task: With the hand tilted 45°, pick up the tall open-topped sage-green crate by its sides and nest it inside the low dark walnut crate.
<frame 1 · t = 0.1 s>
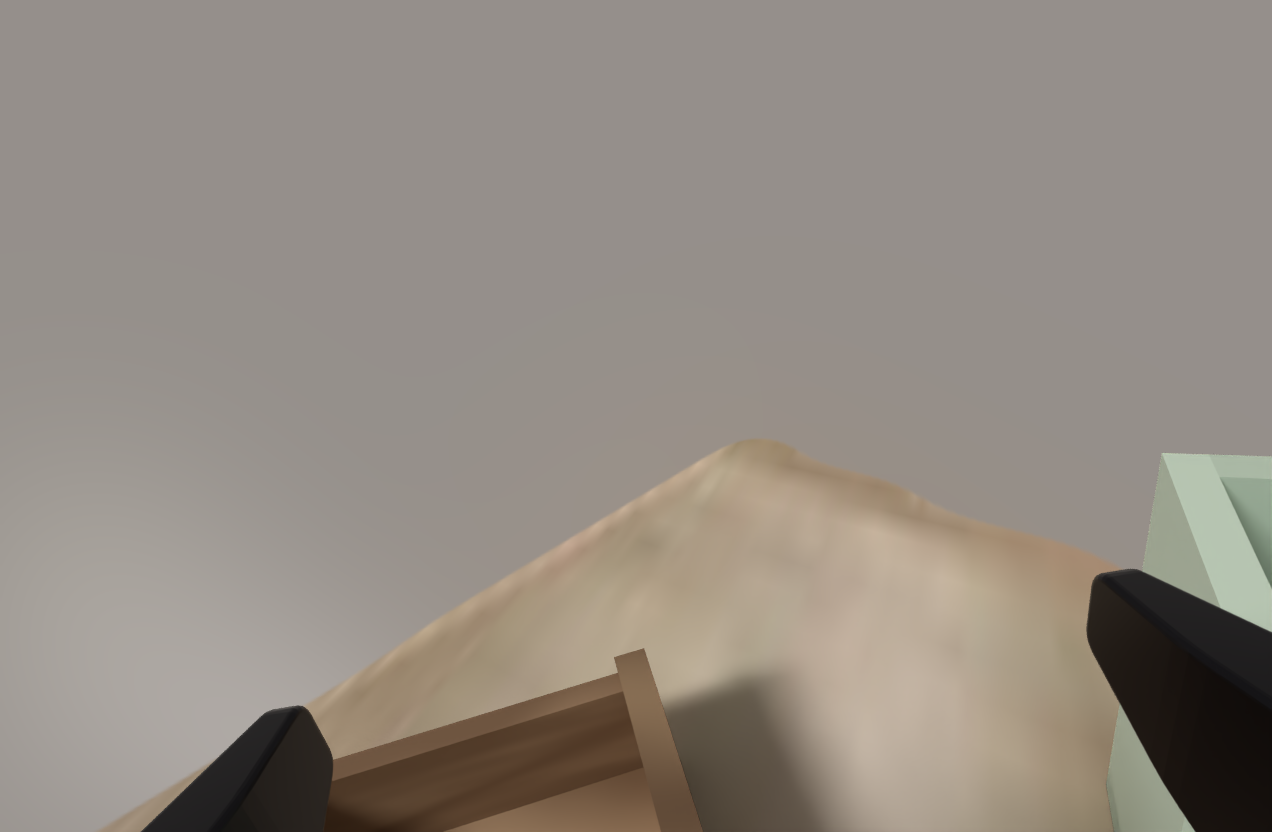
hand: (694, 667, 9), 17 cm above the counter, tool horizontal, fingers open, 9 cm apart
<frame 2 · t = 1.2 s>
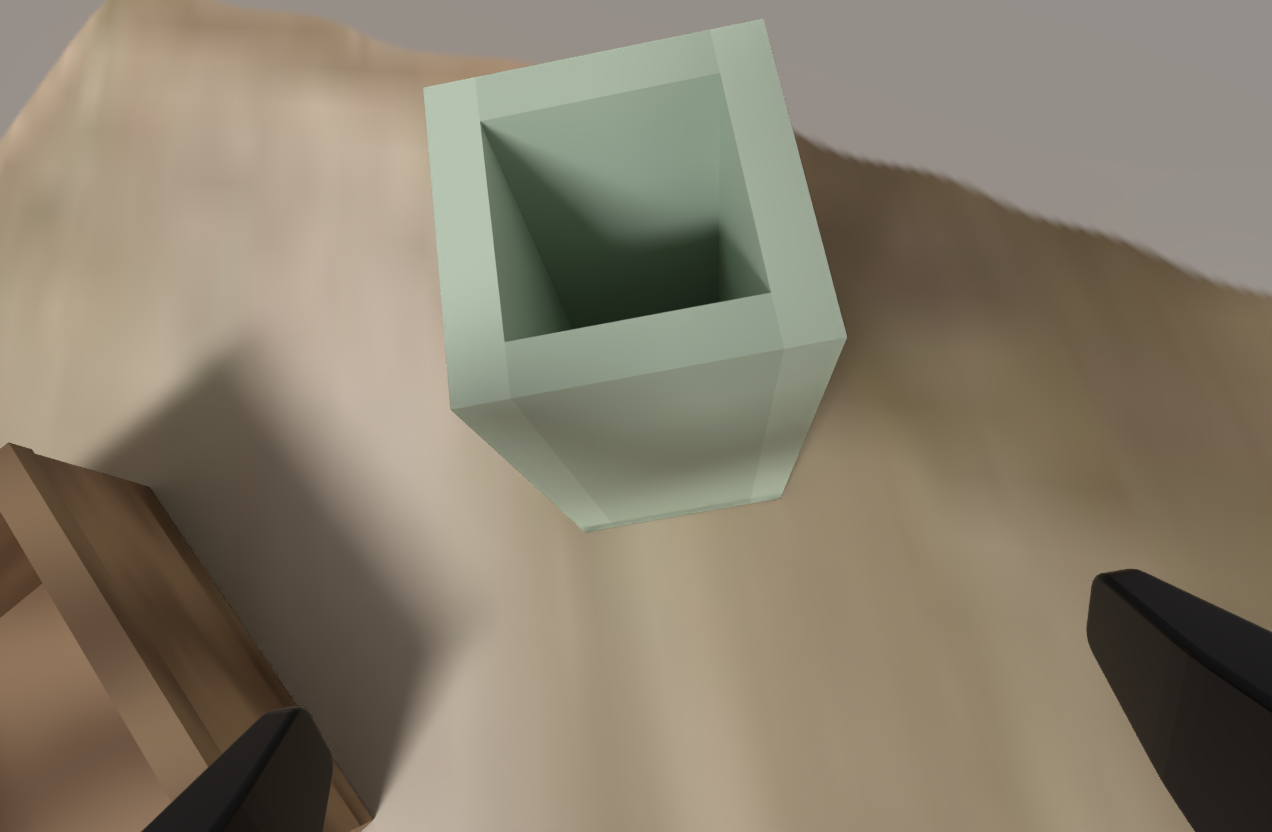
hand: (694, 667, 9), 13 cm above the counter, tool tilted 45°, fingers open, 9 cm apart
walnut crate: (74, 794, 22), on the counter
sage crate: (665, 422, 23), on the counter
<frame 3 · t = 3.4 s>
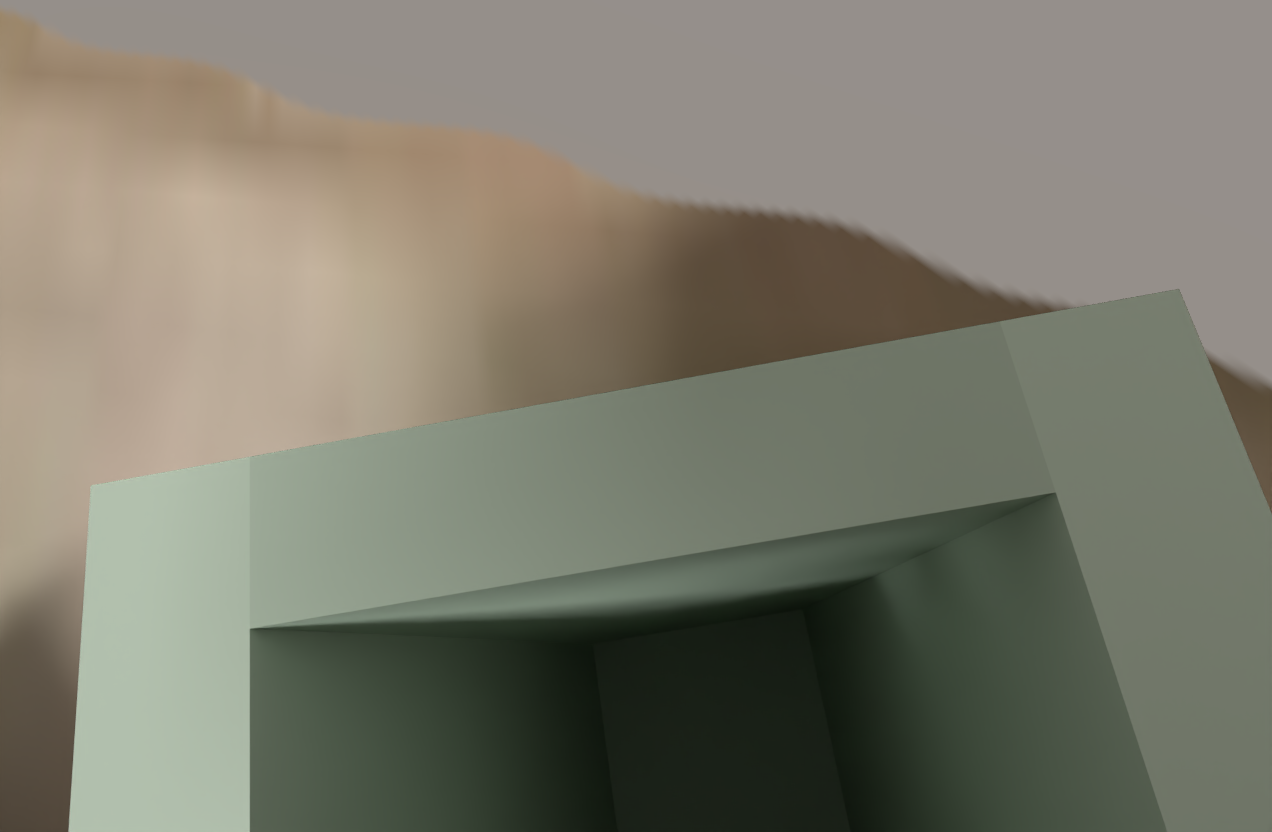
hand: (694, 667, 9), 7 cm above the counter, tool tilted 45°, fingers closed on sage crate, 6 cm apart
sage crate: (716, 735, 15), on the counter, touching gripper
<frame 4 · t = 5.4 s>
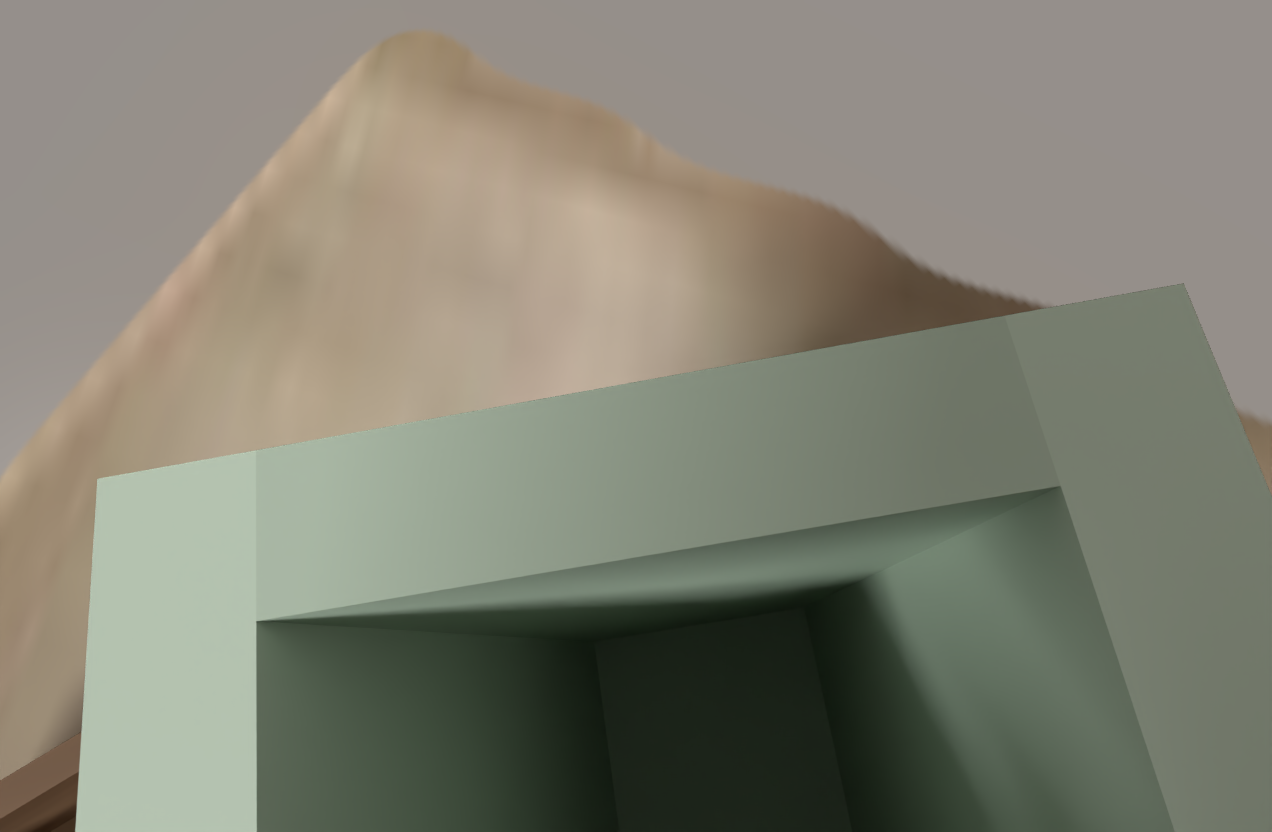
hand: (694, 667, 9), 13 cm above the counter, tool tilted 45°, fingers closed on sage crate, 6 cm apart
sage crate: (718, 733, 15), point 7 cm above the counter, touching gripper
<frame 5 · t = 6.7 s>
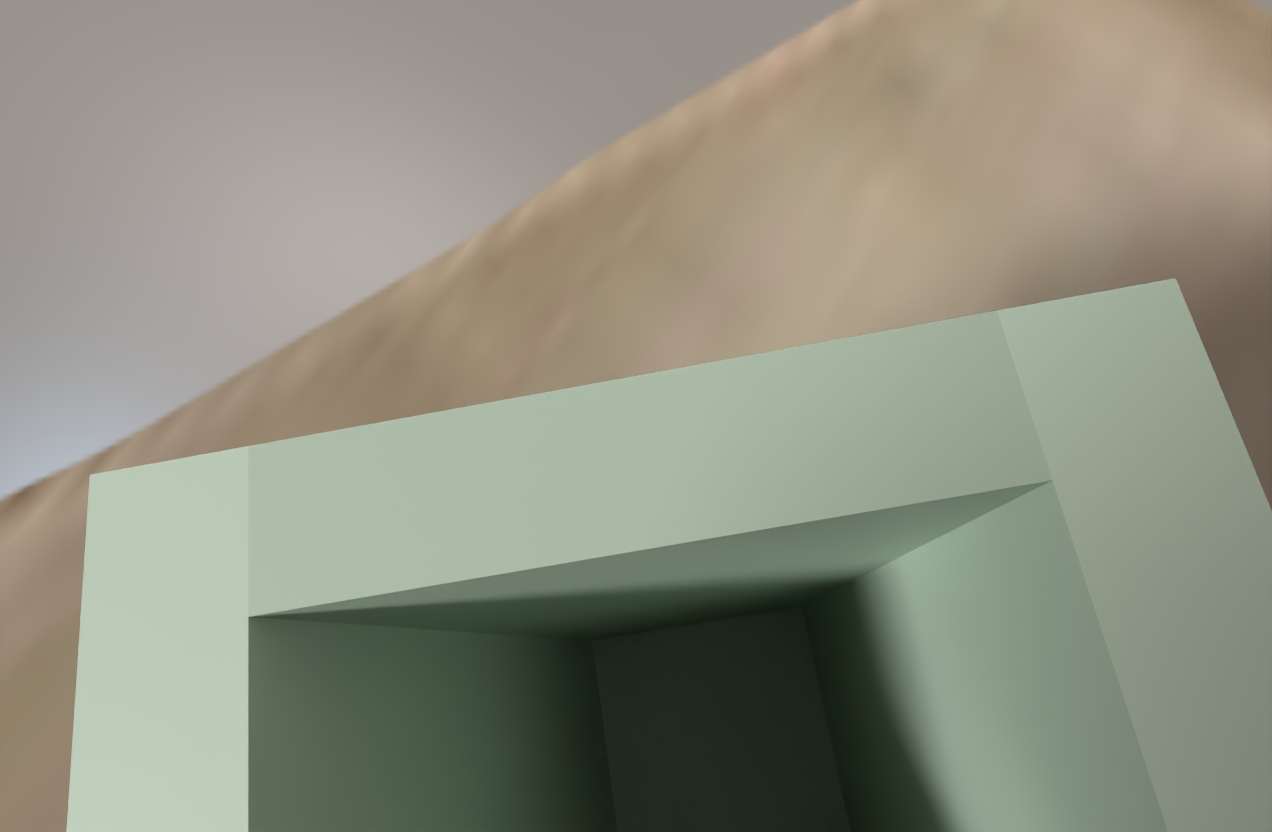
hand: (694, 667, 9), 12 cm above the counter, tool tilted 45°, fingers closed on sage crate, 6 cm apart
sage crate: (716, 732, 15), point 6 cm above the counter, touching gripper
when the fingers open (9 cm above the counter, at t = 7.7 s): sage crate drops 1 cm, resting on walnut crate.
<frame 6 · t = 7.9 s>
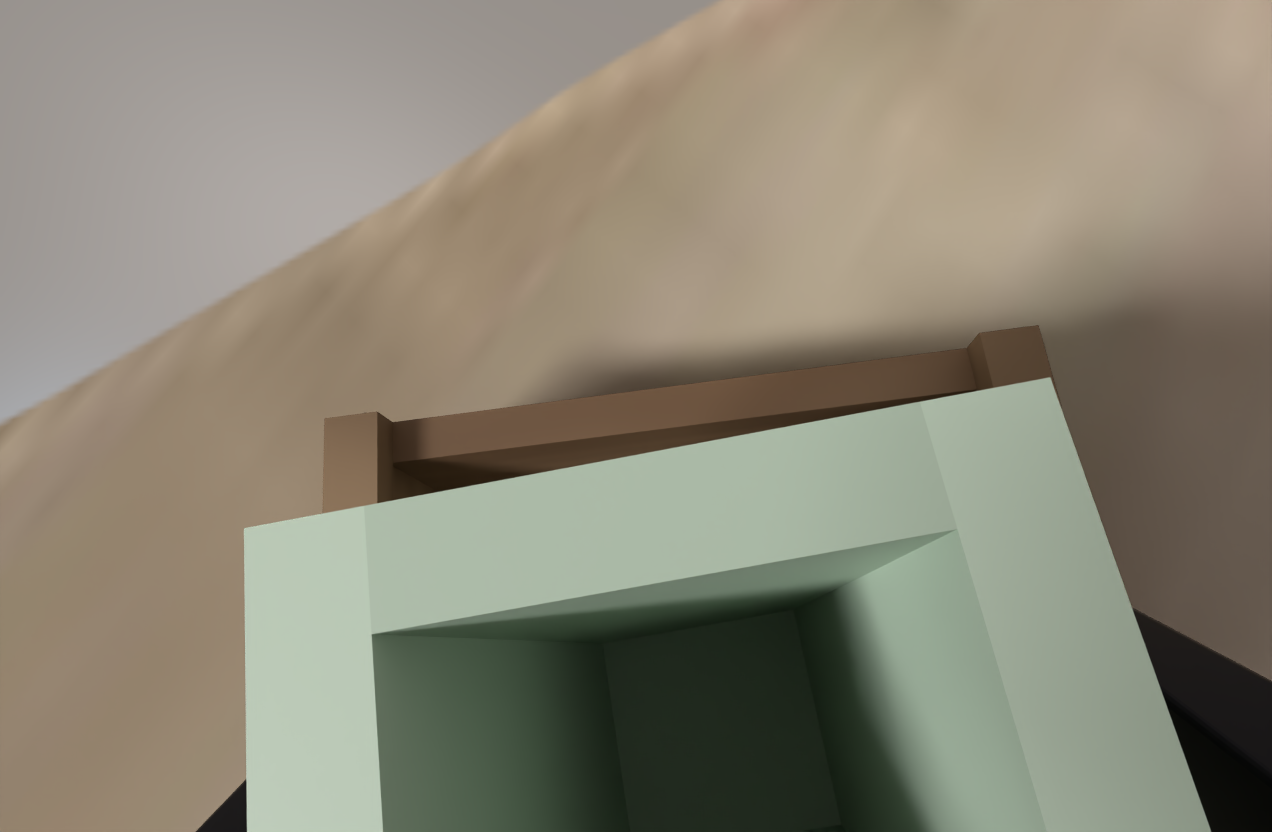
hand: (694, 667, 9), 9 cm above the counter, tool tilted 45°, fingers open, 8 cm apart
walnut crate: (717, 723, 17), on the counter
sage crate: (716, 725, 16), point 1 cm above the counter, touching walnut crate
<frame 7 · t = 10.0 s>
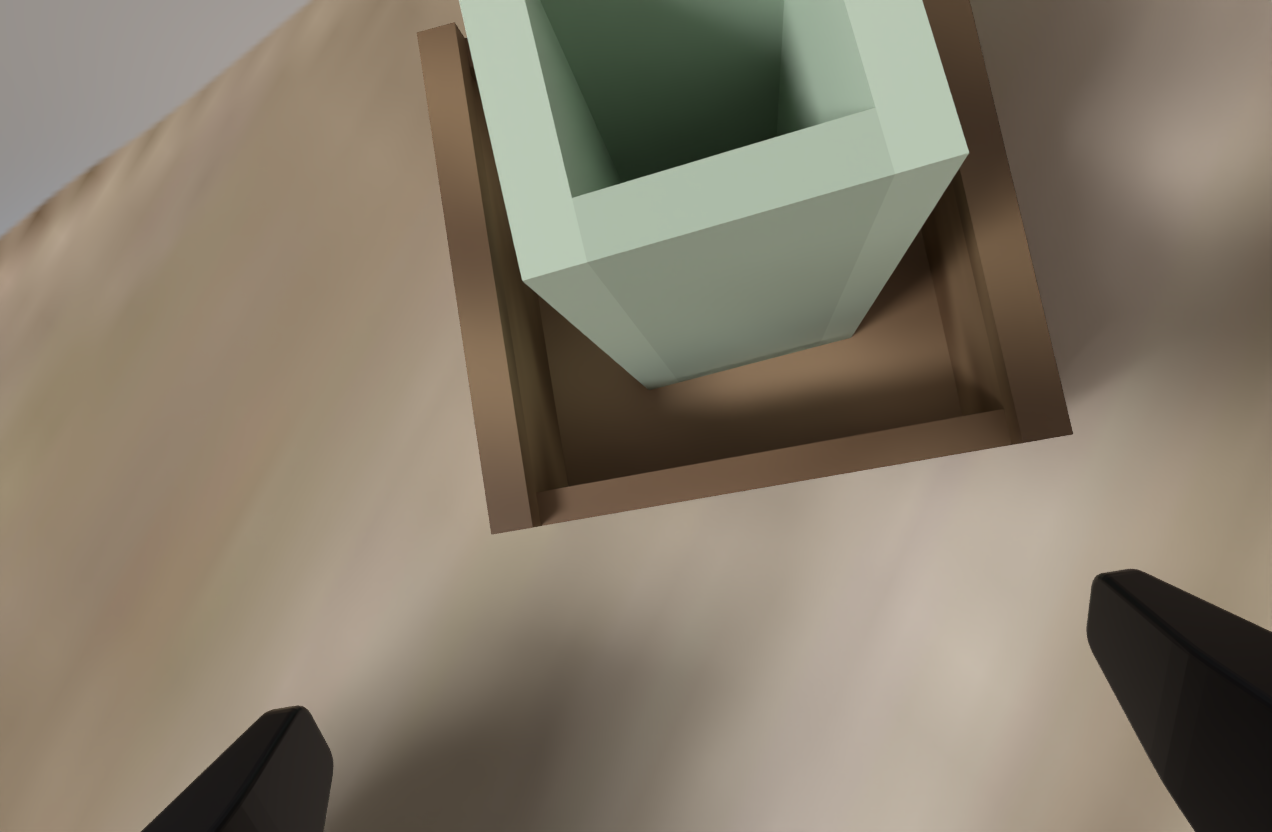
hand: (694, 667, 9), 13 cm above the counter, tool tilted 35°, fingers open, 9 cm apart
walnut crate: (724, 275, 23), on the counter
sage crate: (722, 267, 22), point 1 cm above the counter, touching walnut crate
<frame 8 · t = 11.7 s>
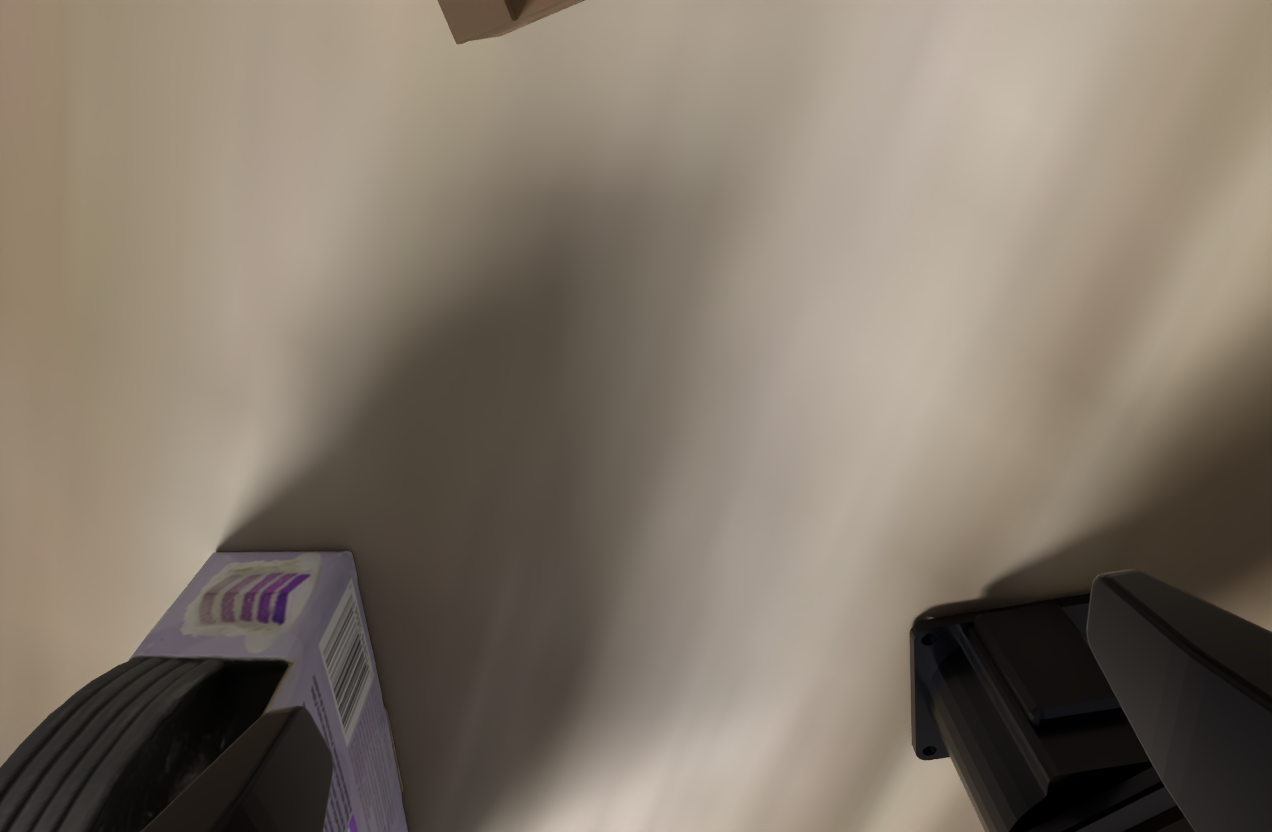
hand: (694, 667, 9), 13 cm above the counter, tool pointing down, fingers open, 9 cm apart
cake pan box: (329, 732, 28), on the counter
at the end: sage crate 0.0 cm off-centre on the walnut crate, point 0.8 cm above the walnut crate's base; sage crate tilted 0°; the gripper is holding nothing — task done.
